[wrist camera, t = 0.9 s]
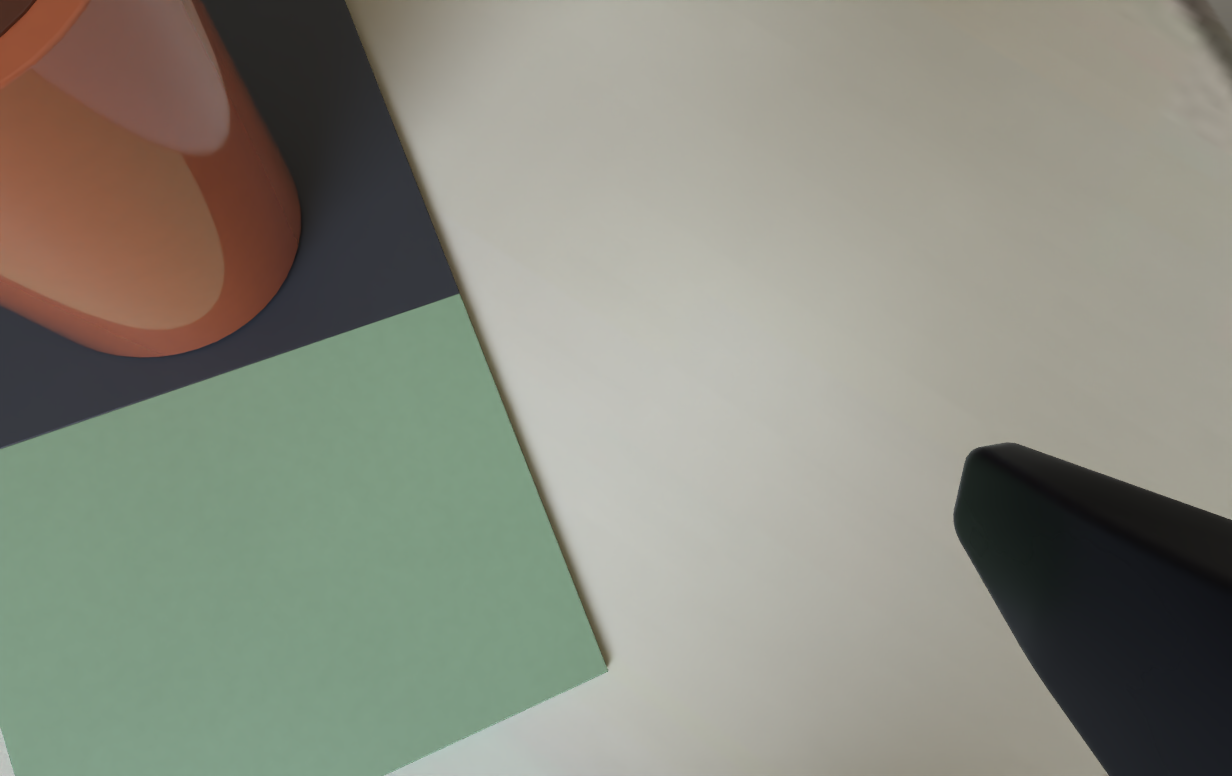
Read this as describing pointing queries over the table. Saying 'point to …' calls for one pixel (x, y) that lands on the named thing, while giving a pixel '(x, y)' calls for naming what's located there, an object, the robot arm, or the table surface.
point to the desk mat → (281, 492)
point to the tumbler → (135, 177)
